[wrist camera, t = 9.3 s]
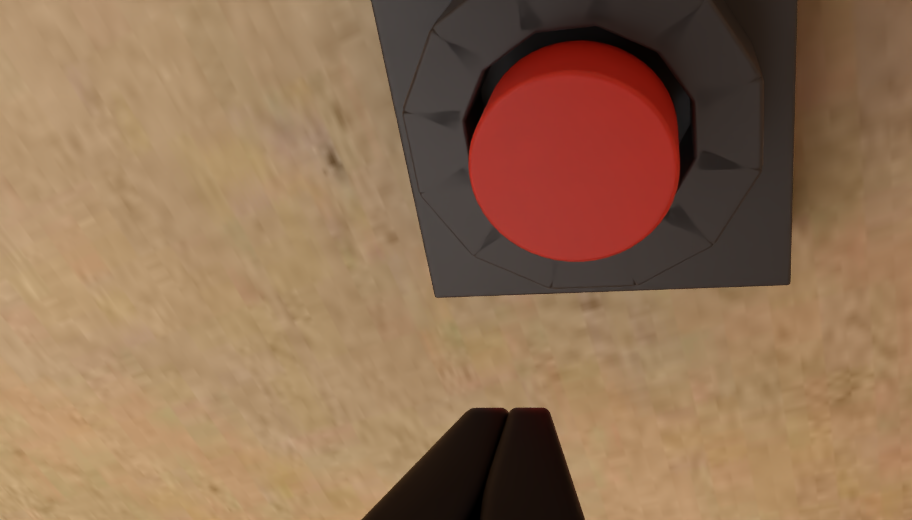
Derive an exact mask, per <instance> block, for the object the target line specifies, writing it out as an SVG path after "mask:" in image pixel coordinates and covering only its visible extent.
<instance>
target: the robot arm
mask: <svg viewBox="0 0 912 520" xmlns="http://www.w3.org/2000/svg"><path fill="white" fill-rule="evenodd" d="M362 520H585V518H584V515H583V512H582V509H581V506H580V503H579V500H578V497H577V494H576V491H575V488H574V485H573V481H572V478H571V475H570V472H569V469H568V466H567V463H566V460H565V457H564V454H563V451H562V448H561V445H560V442H559V439H558V436H557V433H556V430H555V426H554V423H553V420H552V417H551V415H550V412H549V411H548V410H547V409H546V408H514V409H512V410H511V411H510V412H508V411H507V410H506V409H504V408H472V409H470V410H468V411H467V412H466V413H465V414H464V415H463V416H462V417H461V418H460V419H459V420H458V421H457V422H456V423H455V424H454V425H453V426H452V427H451V428H450V429H449V430H448V431H447V432H446V433H445V434H444V435H443V436H442V437H441V438H440V439H439V440H438V441H437V442H436V443H435V444H434V445H433V447H432V448H431V449H430V450H429V451H428V452H427V453H426V454H425V455H424V456H423V457H422V458H421V459H420V460H419V461H418V462H417V463H416V464H415V465H414V466H413V467H412V468H411V469H410V470H409V471H408V472H407V473H406V474H405V475H404V476H403V477H402V478H401V480H400V481H399V482H398V483H397V484H396V485H395V486H394V487H393V488H392V489H391V490H390V491H389V492H388V493H387V494H386V495H385V496H384V497H383V498H382V499H381V500H380V501H379V502H378V503H377V504H376V505H375V506H374V507H373V508H372V509H371V510H370V511H369V512H368V514H367V515H366V516H365V517H364V518H363V519H362Z"/></svg>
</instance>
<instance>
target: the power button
mask: <svg viewBox="0 0 912 520" xmlns="http://www.w3.org/2000/svg"><path fill="white" fill-rule="evenodd" d="M468 168H469V177H470V182H471V186H472V190H473V193H474V195H475V198H476V200H477V202H478V204H479V206H480V208H481V210H482V211H483V213H484V215H485V216H486V217H487V219H488V220H489V221H490V223H491V224H492V225H493V226H494V227H495V228H496V229H497V230H498V231H499V232H500V233H501V234H502V235H503V236H504V237H506V238H507V239H508V240H509V241H511V242H512V243H514V244H516V245H517V246H519V247H520V248H522V249H524V250H526V251H528V252H531V253H533V254H536V255H539V256H541V257H545V258H549V259H553V260H559V261H567V262H584V261H594V260H599V259H603V258H607V257H610V256H613V255H616V254H619V253H621V252H623V251H625V250H627V249H629V248H631V247H633V246H634V245H636V244H637V243H639V242H640V241H642V240H643V239H644V238H645V237H647V236H648V235H649V234H650V233H651V232H652V231H653V230H654V229H655V228H656V227H657V226H658V225H659V224H660V223H661V221H662V220H663V218H664V217H665V215H666V214H667V212H668V211H669V209H670V207H671V205H672V203H673V200H674V197H675V194H676V191H677V188H678V182H679V177H680V155H679V137H678V123H677V115H676V111H675V108H674V104H673V101H672V99H671V97H670V94H669V92H668V90H667V89H666V87H665V86H664V84H663V82H662V81H661V80H660V78H659V77H658V76H657V75H656V74H655V72H654V71H653V70H652V69H651V68H650V67H648V66H647V65H646V64H645V63H644V62H643V61H641V60H640V59H638V58H637V57H635V56H634V55H632V54H630V53H629V52H627V51H625V50H623V49H620V48H618V47H615V46H612V45H609V44H605V43H600V42H596V41H584V40H578V41H565V42H560V43H554V44H551V45H548V46H545V47H542V48H540V49H538V50H536V51H533V52H531V53H530V54H528V55H526V56H525V57H523V58H522V59H520V60H519V61H518V62H517V63H515V64H514V65H513V66H512V67H511V68H510V69H509V70H508V71H507V72H506V73H505V74H504V75H503V76H502V78H501V79H500V81H499V82H498V83H497V85H496V86H495V88H494V90H493V92H492V94H491V96H490V98H489V100H488V103H487V105H486V107H485V109H484V111H483V113H482V116H481V118H480V120H479V122H478V124H477V126H476V129H475V131H474V134H473V137H472V140H471V144H470V150H469V161H468Z"/></svg>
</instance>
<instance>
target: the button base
mask: <svg viewBox="0 0 912 520" xmlns="http://www.w3.org/2000/svg"><path fill="white" fill-rule="evenodd" d="M797 1H798V0H371V3H372V7H373V12H374V17H375V21H376V26H377V30H378V35H379V40H380V44H381V49H382V54H383V58H384V63H385V67H386V72H387V77H388V81H389V86H390V91H391V95H392V100H393V104H394V109H395V114H396V118H397V123H398V128H399V132H400V137H401V141H402V146H403V151H404V155H405V160H406V165H407V169H408V174H409V178H410V183H411V188H412V192H413V197H414V202H415V206H416V211H417V216H418V220H419V225H420V229H421V234H422V239H423V243H424V248H425V253H426V257H427V262H428V266H429V271H430V276H431V280H432V285H433V290H434V294H435V297H436V298H442V297H470V296H498V295H525V294H553V293H581V292H608V291H636V290H664V289H691V288H719V287H747V286H774V285H789V284H790V280H791V240H792V200H793V160H794V121H795V81H796V41H797ZM578 40H584V41H596V42H600V43H605V44H609V45H612V46H615V47H618V48H620V49H623V50H625V51H627V52H629V53H630V54H632V55H634V56H635V57H637V58H638V59H640V60H641V61H643V62H644V63H645V64H646V65H647V66H648V67H650V68H651V69H652V70H653V71H654V72H655V74H656V75H657V76H658V77H659V78H660V80H661V81H662V82H663V84H664V86H665V87H666V89H667V90H668V92H669V94H670V97H671V99H672V101H673V104H674V108H675V111H676V115H677V123H678V137H679V155H680V177H679V182H678V188H677V191H676V194H675V197H674V200H673V203H672V205H671V207H670V209H669V211H668V212H667V214H666V215H665V217H664V218H663V220H662V221H661V223H660V224H659V225H658V226H657V227H656V228H655V229H654V230H653V231H652V232H651V233H650V234H649V235H648V236H647V237H645V238H644V239H643V240H642V241H640V242H639V243H637V244H636V245H634V246H633V247H631V248H629V249H627V250H625V251H623V252H621V253H619V254H616V255H613V256H610V257H607V258H603V259H599V260H594V261H584V262H567V261H559V260H553V259H549V258H545V257H541V256H539V255H536V254H533V253H531V252H528V251H526V250H524V249H522V248H520V247H519V246H517V245H516V244H514V243H512V242H511V241H509V240H508V239H507V238H506V237H504V236H503V235H502V234H501V233H500V232H499V231H498V230H497V229H496V228H495V227H494V226H493V225H492V224H491V223H490V221H489V220H488V219H487V217H486V216H485V215H484V213H483V211H482V210H481V208H480V206H479V204H478V202H477V200H476V198H475V195H474V193H473V190H472V186H471V182H470V177H469V168H468V161H469V150H470V144H471V140H472V137H473V134H474V131H475V129H476V126H477V124H478V122H479V120H480V118H481V116H482V113H483V111H484V109H485V107H486V105H487V103H488V100H489V98H490V96H491V94H492V92H493V90H494V88H495V86H496V85H497V83H498V82H499V81H500V79H501V78H502V76H503V75H504V74H505V73H506V72H507V71H508V70H509V69H510V68H511V67H512V66H513V65H514V64H515V63H517V62H518V61H519V60H520V59H522V58H523V57H525V56H526V55H528V54H530V53H531V52H533V51H536V50H538V49H540V48H542V47H545V46H548V45H551V44H554V43H560V42H565V41H578Z"/></svg>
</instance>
